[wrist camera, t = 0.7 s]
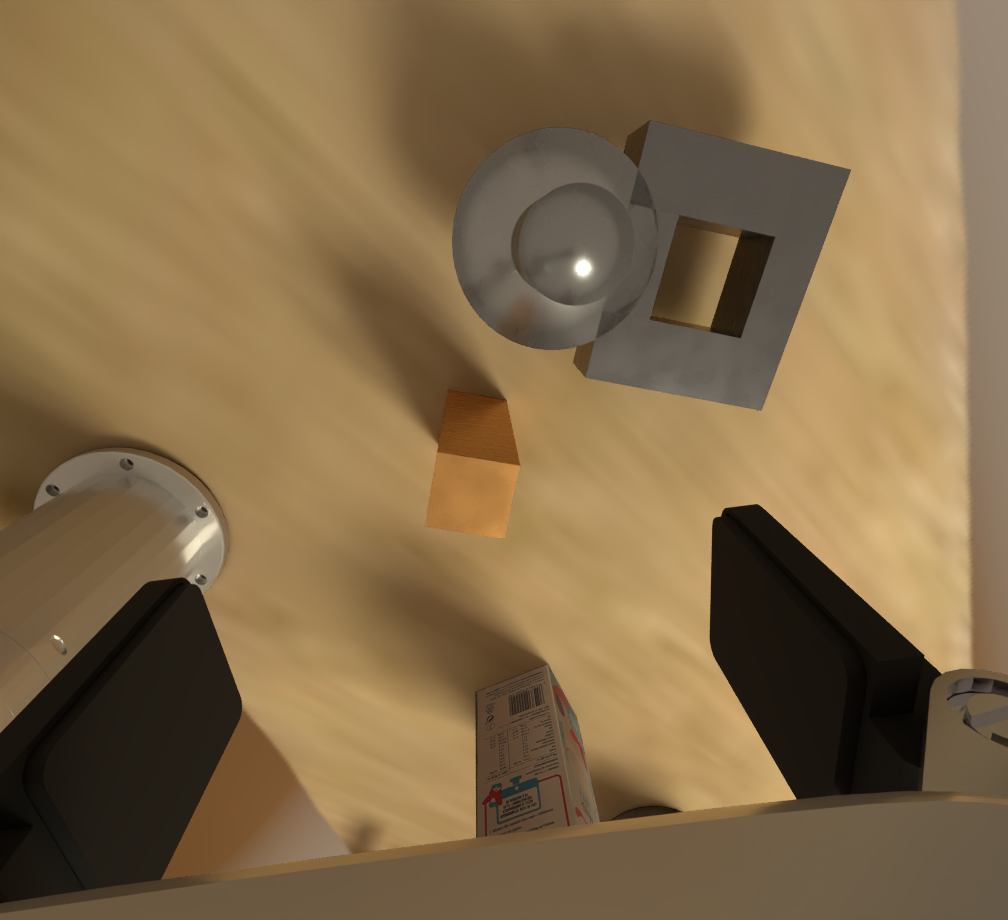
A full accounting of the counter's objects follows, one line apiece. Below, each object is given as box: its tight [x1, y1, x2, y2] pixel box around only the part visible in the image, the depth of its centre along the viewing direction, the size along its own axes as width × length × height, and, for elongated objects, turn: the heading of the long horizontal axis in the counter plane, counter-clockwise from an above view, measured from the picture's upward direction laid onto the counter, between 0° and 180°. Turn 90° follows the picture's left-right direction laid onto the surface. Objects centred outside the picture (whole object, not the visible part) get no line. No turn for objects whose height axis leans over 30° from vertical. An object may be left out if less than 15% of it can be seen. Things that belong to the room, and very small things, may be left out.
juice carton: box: [475, 664, 600, 838], centre depth 37 cm, size 7×7×22 cm
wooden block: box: [425, 390, 520, 539], centre depth 33 cm, size 4×4×12 cm
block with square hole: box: [452, 120, 851, 411], centre depth 28 cm, size 12×18×14 cm, turn 79°
